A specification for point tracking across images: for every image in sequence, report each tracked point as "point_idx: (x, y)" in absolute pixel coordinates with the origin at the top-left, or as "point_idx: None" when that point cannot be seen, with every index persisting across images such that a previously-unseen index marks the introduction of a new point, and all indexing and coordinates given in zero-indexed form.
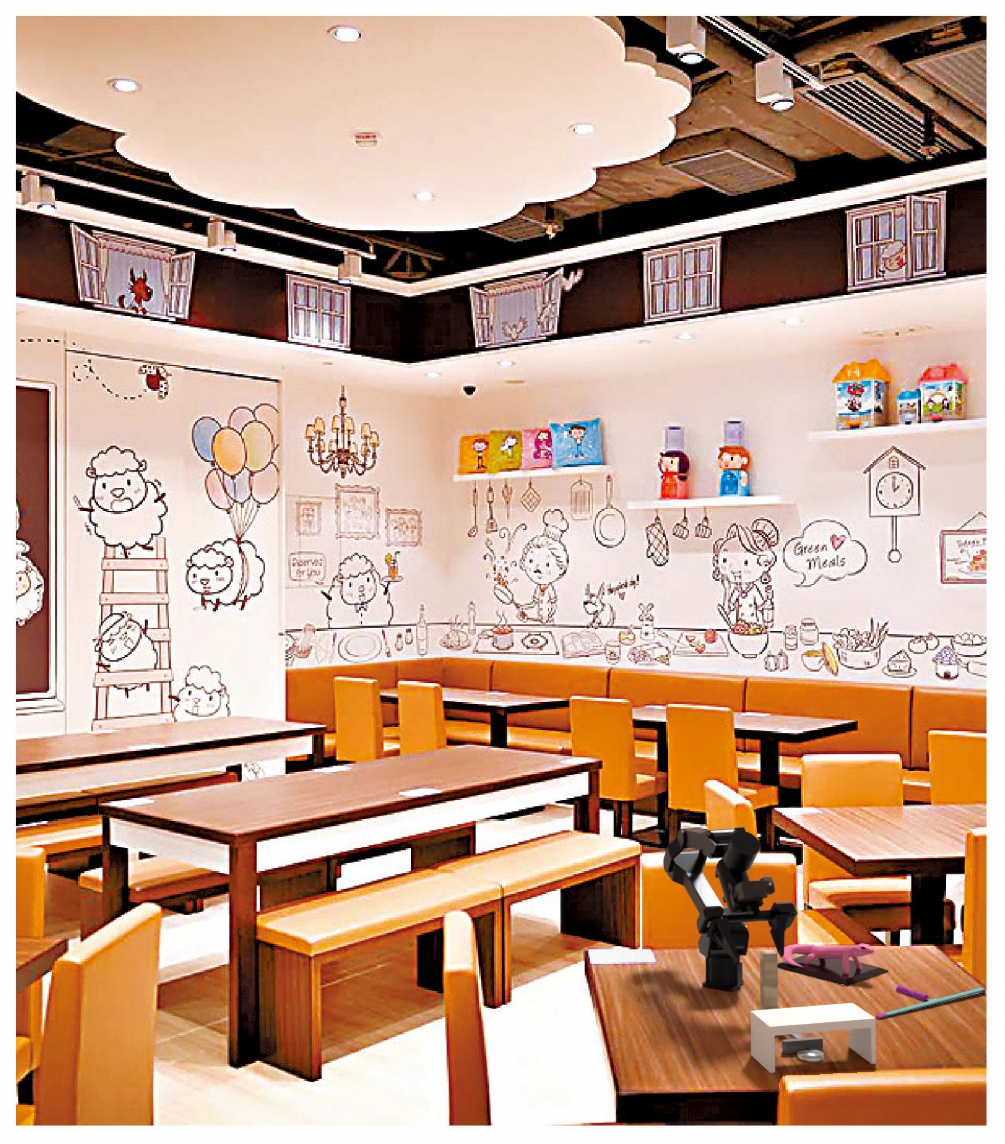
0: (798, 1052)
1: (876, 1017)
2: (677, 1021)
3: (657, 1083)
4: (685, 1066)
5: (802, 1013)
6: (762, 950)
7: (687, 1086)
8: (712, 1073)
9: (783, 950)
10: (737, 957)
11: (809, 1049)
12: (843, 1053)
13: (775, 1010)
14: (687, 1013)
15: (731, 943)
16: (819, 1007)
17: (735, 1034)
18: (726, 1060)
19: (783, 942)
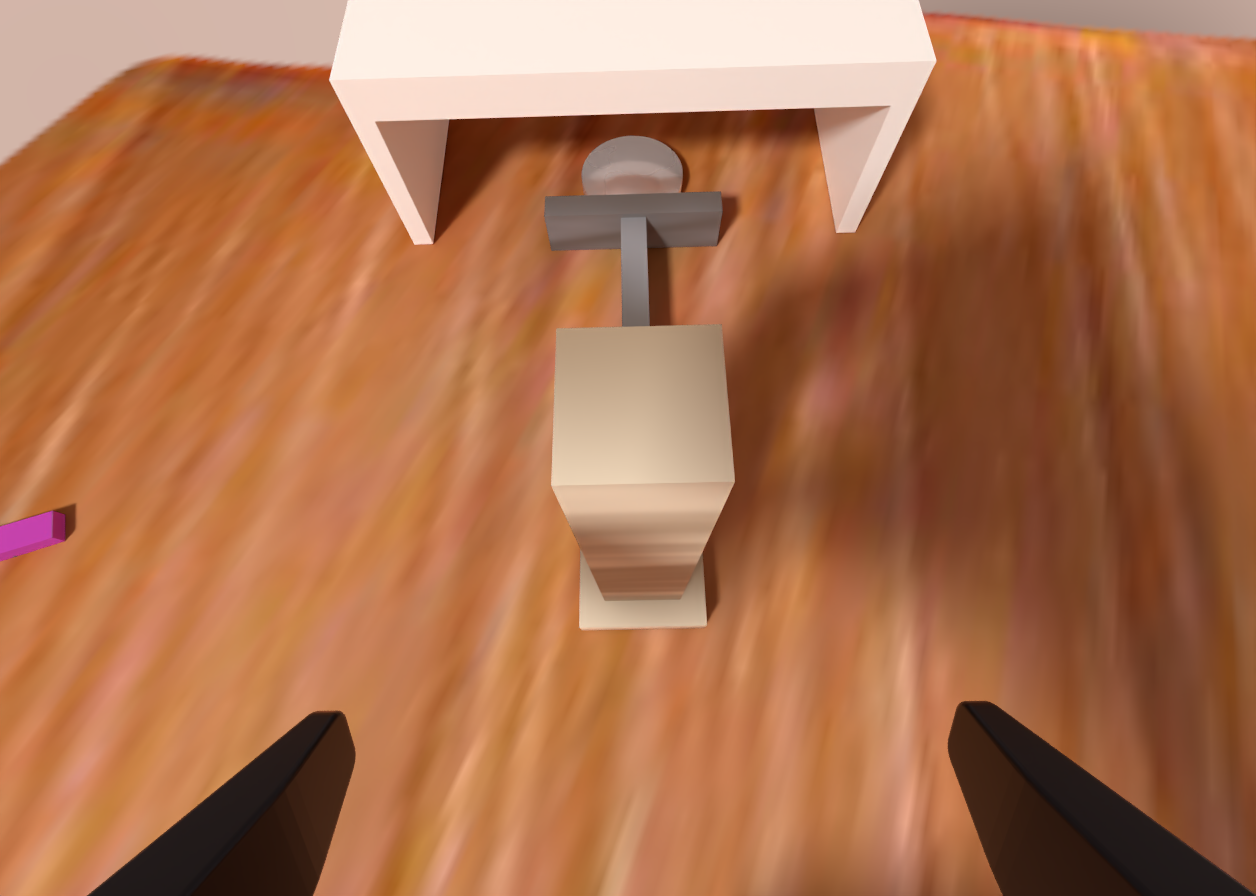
0: (673, 186)
1: (61, 537)
2: (1164, 713)
3: (1242, 83)
4: (1136, 183)
5: (671, 2)
6: (693, 484)
7: (1135, 54)
8: (1037, 122)
9: (282, 740)
10: (964, 702)
11: None
12: (490, 198)
13: (796, 48)
14: None
15: (1171, 874)
16: (542, 53)
17: (863, 456)
18: (965, 207)
19: (162, 845)
